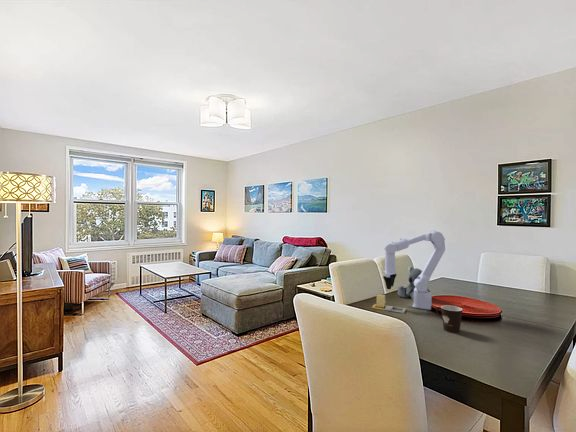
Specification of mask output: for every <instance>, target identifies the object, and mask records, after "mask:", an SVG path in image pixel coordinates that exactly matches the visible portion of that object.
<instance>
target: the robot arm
mask: <svg viewBox="0 0 576 432" xmlns="http://www.w3.org/2000/svg"><path fill="white" fill-rule="evenodd" d="M445 240H446V238H445V237H444V235H443V233H442V232H440V231H436V230H432V231H426V232H424V233H421V234H418V235H415V236H413V237H411V238H410V237H409V238H402V237H400V238H399V240H395V241H391V242H389V243H387V244H386V245H385V246H384V251H385V252H384V253H385V254H384V255H385V256H384V270H383V271H382V273H383V274H385V275H383V276H382V278H383V280H384V282H385V286H386V289H387V290H391V289H392V287H394V285H395V280H396V277H397V275H398V274H396V252H400V251H402V250H405V249H408V248H409V246H410V245H414V244H416V243H420V242H422V241H426V242H431V244H432V246H433V249H434V250H433V252H432V253H431V255H430V256H429V259H428V260H427V262H426V264H425V266H424V268H423V269H422V270H423V271H422V270H421V271H422V273H421V274H420V275H419V276H418V278H416V279H415V280H414V286H415V289H414V301H413V303H412V308H415V309H422V310H427V311H428V310H430V311H431V310H432V307H431V306H433V302H432V299H433V298H432V297H433V296H432V292H431V291H430V292H428V291H427V289H429V284H430V279H431V277H432V275H433V273H434V271H435V270H436V268H437V266H438V264H439V262H440V261H441V259H442V257H443V255H444V253H445V251H446V243H445Z"/></svg>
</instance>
